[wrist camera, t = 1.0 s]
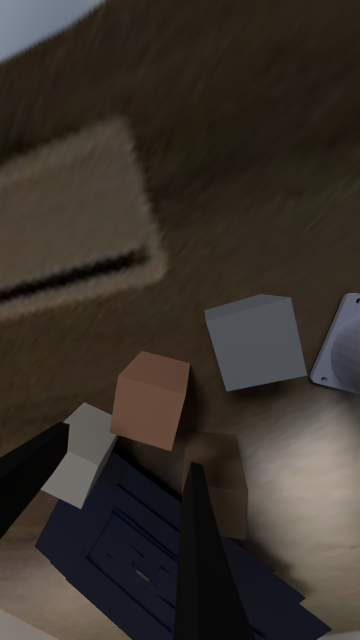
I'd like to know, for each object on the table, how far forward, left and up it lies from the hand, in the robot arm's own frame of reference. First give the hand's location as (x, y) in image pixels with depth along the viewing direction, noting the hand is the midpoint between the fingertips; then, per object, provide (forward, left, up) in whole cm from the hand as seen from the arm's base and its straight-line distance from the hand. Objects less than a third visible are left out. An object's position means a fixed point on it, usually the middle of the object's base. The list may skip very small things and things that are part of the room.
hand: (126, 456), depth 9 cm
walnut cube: (-7, +7, -8) cm, 13 cm away
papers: (-4, +24, -8) cm, 26 cm away
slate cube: (-6, -7, -8) cm, 12 cm away
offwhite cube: (+6, +8, -8) cm, 13 cm away
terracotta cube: (0, 0, -8) cm, 8 cm away
